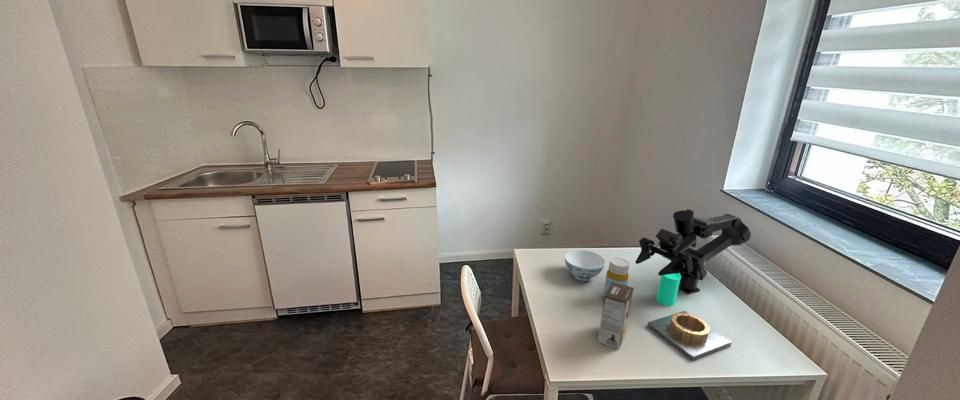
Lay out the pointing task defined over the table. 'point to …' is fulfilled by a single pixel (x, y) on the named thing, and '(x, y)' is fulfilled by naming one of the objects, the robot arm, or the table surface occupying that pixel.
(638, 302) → the table surface
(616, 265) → the bottle
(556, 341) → the table surface
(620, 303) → the coffee box
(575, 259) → the chinaware
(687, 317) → the square plate with hole
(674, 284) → the candle
